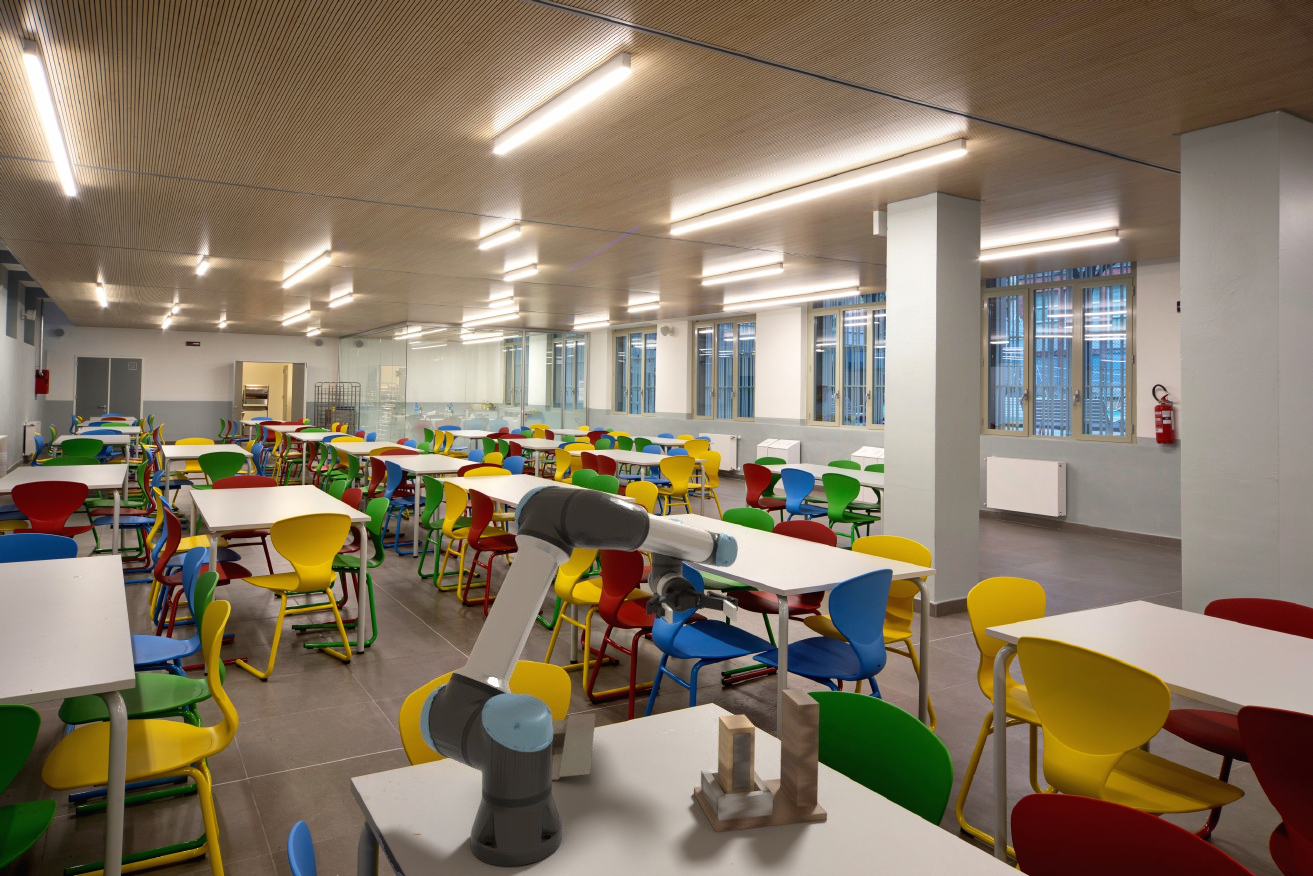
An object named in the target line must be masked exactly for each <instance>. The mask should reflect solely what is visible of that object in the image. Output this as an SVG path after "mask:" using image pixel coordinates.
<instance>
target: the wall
mask: <svg viewBox="0 0 1313 876" xmlns="http://www.w3.org/2000/svg"><path fill="white" fill-rule="evenodd" d="M596 714H597V713H581V714H569V715H568V717H567V719H566V718H565V719H560V720H558V719H555V720H553V719H552V725H553V729H554V731H553V734H554V735H553V759H552V781H553V780H554V781H555V780H560V779H561V778H562V777H563V778H564V777H571V776H581V775H582V776H583V775H590V774H591V765H592V755H593V748H594V747H593V745H594V736H595V735H594V734H595V724H596Z"/></svg>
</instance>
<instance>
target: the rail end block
mask: <svg viewBox="0 0 1313 876" xmlns="http://www.w3.org/2000/svg"><path fill="white" fill-rule="evenodd" d="M755 743H756V726H755V725H754V724H753V722H752V721H751V720H750V719H749V718H748V717H747V716H746V714H733V715H732V714H730V715H719V716H718V746H717V748H718V751H717V752H718V755H717V758H718V759H717V760H718V761H717V764H718V765H717V769H718V785H719V786H720V788H721V789H722V791H723V792H724V794H734V793H744V792H754V771H755V759H756V758H755V756H756V755H755V752H756V749H755V748H756V747H755V746H756V744H755Z"/></svg>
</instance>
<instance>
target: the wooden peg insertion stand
mask: <svg viewBox="0 0 1313 876" xmlns="http://www.w3.org/2000/svg"><path fill="white" fill-rule="evenodd" d="M780 718H781V719H780V720H781V723H780V726H781V727H780V771H779V772H780V778H776V779H766V780H763V779H762V778H761V777H760V776H759V775H758V773H757V772H756V771H755V770H754V792H744V793H734V794H724V792H723V791H722V789H721V788H720V786H719V785H718V768H713V769H710V768H709V769H703V770H702V769H701V770H700V786H695V787H693V795H694V797H695V798H696V800H697V802H698V804H699V806H700V807H701V809H702V810H703V813H704V814H705V815H706V817H707V819H708V821H709V822H710V824H711V826H712V828H713V829H714V831H715V832H716V833H720V832H726V831H727V832H729V831H735V830H736V831H738V830H744V829H754V828H762V827H771V826H779V825H790V824H797V823H798V824H799V823H807V822H814V821H824V820H828V812H827V811H826V810H825V809H824V808H823V806H821V804H820V803H819V802H818V795H819V793H818V791H819V790H818V788H819V786H818V784H819V782H818V781H819V739H820V738H819V735H820V734H819V733H820V725H819V724H820V703H819V702H818V701H816V699H814V698H813V697H812V696H811V695H809V694H808V693H807V692H806V691H805V690H803V688H791V689H781V716H780Z"/></svg>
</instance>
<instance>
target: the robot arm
mask: <svg viewBox="0 0 1313 876" xmlns="http://www.w3.org/2000/svg"><path fill="white" fill-rule="evenodd" d="M513 518H514V520H515V522H514V527H515V528H514V529H515V531H516V532H517V534H516V535H515V543H516V546H517V552H516V554H515V556H514V558H513V561H512V563H511V565H510V567H509V569H508V572H507V573H506V576H505V578H504V580H503V583H502V585H501V587H500V589H499V591H498V593H497V595H496V598H495V600H494V602H493V604H492V607H491V609H490V610H489V612H488V615H487V617H486V620H485V622H484V623H483V626H482V628H481V630H480V632H479V635H478V637H477V640H476V641H475V643H474V645H473V648H472V649H471V652H470V654H469V656H468V659H467V661H466V663H465V665H463V666H462V667H459V668H457V669H455V670H453V672H452V674H451V675H450V678H449V680H448V682H447V683H443V684H441V685H439V686H437V688H435V689H433V690H432V691H431V692H430V693H429V694H428V696H427V697H426V699H425V701H424V703H423V705H422V707H421V711H420V716H419V730H420V733H421V736H422V737H421V738H422V740H423V741H424V743H425V744H426V745H427V746H428V747H429V749H431V750H433V751H434V752H436V753H438V754H439V755H440V756H441V757H444V758H447V759H452V760H453V761H457V762H458V763H460V764H463V765H465V766H467V767H470V768H473V769H475V770H476V771H477V770H478V771H480V772H481V778H482V779H481V800H480V803H479V805H478V809H477V811H476V815H475V818H474V821H473V824H472V827H471V830H470V849H471V852H472V854H473V855H474V856H475V857H476V858H477V859H479V860H481V861H483V862H484V863H487V864H491V865H494V866H501V867H519V866H525V865H529V864H530V865H531V864H534V863H536V862H537V863H538V862H540V861H542V860H543V859H546V858H547V857H549V856H550V855H552V854H553V853H554V852H555V851H557V850H558V848H559V846H560V845H561V843H562V832H563V831H562V829H563V828H562V821H561V818H560V815H559V811H558V808H557V805H556V802H555V800H554V795H553V792H552V790H553V789H552V788H553V786H552V785H553V784H552V783H553V780H552V759H553V735H554V734H553V731H554V729H553V725H552V721H553V714H552V711H551V709H550V707H549V705H548V704H547V703H545V702H544V701H543V700H542V699H540V698H538V697H536V696H533V695H531V694H525V693H521V694H517V693H515V692H511V689H510V684H509V682H510V680H511V677H512V675H513V674H514V673H513V672H514V671H515V668H516V666H517V663H518V661H519V659H520V657H521V654H522V653H523V650H524V648H525V645H526V643H527V641H528V638H529V636H530V633H531V630H532V628H533V626H534V624H535V622H536V619H537V617H538V615H539V613H540V611H541V607H542V605H543V603H544V601H545V598H546V595H547V594H548V591H549V589H550V586H551V584H552V582H553V580H554V578H555V575H556V574H557V571H558V568H559V566H561V565H563V564H566V563H568V562H569V561H570V559H571V557H572V555H573V553H574V551H575V549H577V548H578V549H585V550H586V549H587V550H615V551H616V550H618V551H622V552H623V551H625V552H634V551H637V550H642V551H648V552H651V570H650V572H649V573H648V575H647V576H648V577H647V585H648V586H649V588H650V591H651V593H652V594H653V595H652V597H651V598H650V599H649V600H647V602H646V611H645V612H646V613H645V614H646V615H647V616H650V615H653V614H654V618H655V619H658V620H659V619H661V617H662V618H663V619H664V620H665V621H666V622H667V624H668V625H669V624H670V625H671V624H673V623H674V622H673V616H674V613H673V612H675V613H685V612H687V611H689V610H690V609H697V610H703V609H709V610H714V611H721V612H722V613H723V614H724V615H725V616H726V617H728V618H729V619H730V620H731V621H733V622H735V621H737V620H738V619H737V617H738V615H737V613H738V610H739V609H738V607H739V604H738V603H739V599H738V598H735V597H732V596H730V595H728V596H727V595H723V594H720V593H717V592H716V593H715V592H713V591H712V590H708V591H706V593H705V592H700V591H697V589H696V587H695V586H694V584H693V583H692V582H690V581H689V579H687V578H685V577H684V576H683V562H687V563H695V564H702V565H707V566H712V567H717V568H719V567H720V568H721V567H723V568H729V567H731V566H732V565H733V564H734V563H735V562H736V560H737V557H738V551H739V550H738V549H739V546H738V542H737V539H736V538H735V537H734V536H733V535H731V534H725V533H723V532H721V533H718V532H714V531H713V532H712V531H709V530H705V529H702V528H700V527H695V526H692V525H689V524H686V523H684V522H683V521H682V520H680V519H677V518H666V517H664V516H663V517H662V516H659V515H656V514H653V513H649V512H648V511H647V509H646V508H644V507H643V506H642V505H640V504H638V503H634V502H630V501H628V500H626V499H623V498H620V497H617V496H616V495H615V496H614V495H612V494H609V493H606V492H604V491H600V490H597V489H596V490H595V489H589V488H586V489H585V488H574V487H573V488H572V487H564V486H563V487H562V486H559V485H546V486H537V487H534V488H532V489H530V490H528V491H527V492H526V493H525V494H524V495H523V496H522V497H521V498H520V500H519V502H518V503H517V506H516V507H515V511H514V517H513Z"/></svg>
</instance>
